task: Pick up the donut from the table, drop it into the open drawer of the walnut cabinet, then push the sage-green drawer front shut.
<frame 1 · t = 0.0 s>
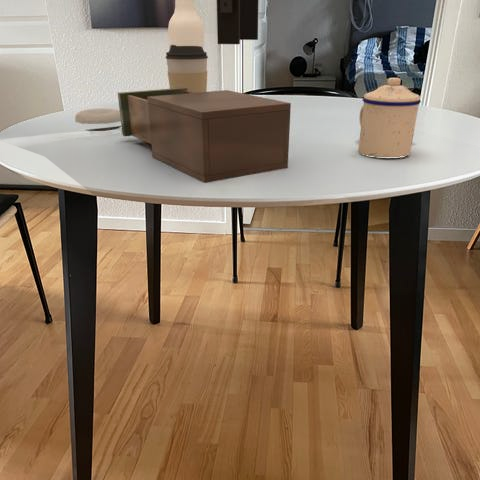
hand: (239, 42, 68), 17 cm above the table, tool pointing down, fingers open, 13 cm apart
alcohol: (189, 105, 133), on the table
coffee cup: (190, 121, 113), on the table
teacup with lid: (378, 153, 86), on the table
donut: (101, 129, 105), on the table
drawer: (171, 117, 89), point 5 cm above the table, slide at 13.5 cm
cabinet: (217, 162, 80), on the table
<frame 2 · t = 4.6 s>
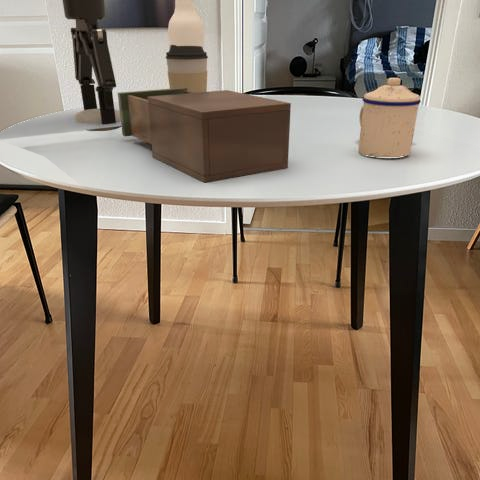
hand: (100, 121, 104), 1 cm above the table, tool pointing down, fingers closed on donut, 10 cm apart
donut: (101, 129, 105), on the table, touching gripper
everything else where it was.
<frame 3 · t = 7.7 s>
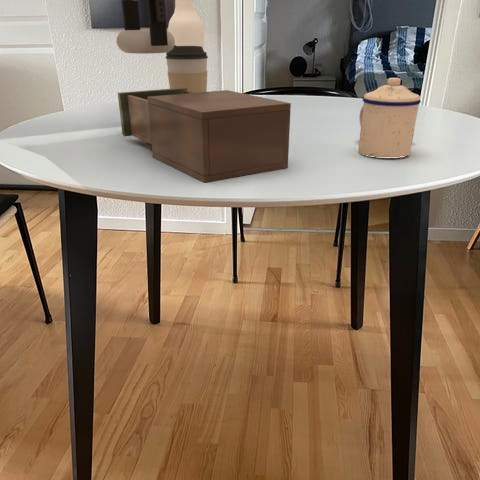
hand: (146, 44, 86), 16 cm above the table, tool pointing down, fingers closed on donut, 10 cm apart
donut: (147, 53, 87), point 14 cm above the table, touching gripper
everything else where it was.
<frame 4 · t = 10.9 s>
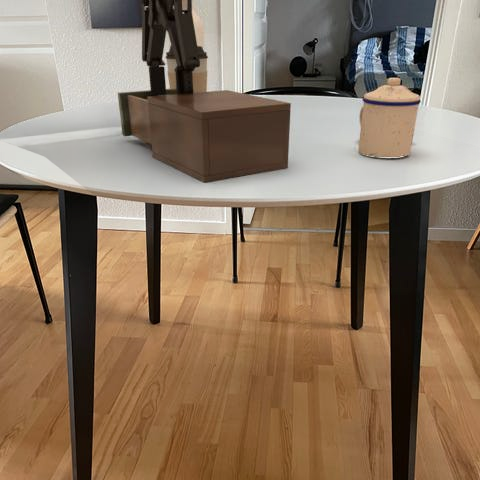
hand: (172, 110, 88), 6 cm above the table, tool pointing down, fingers closed on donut, 10 cm apart
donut: (173, 118, 89), point 4 cm above the table, touching gripper
everything else where it was.
when the fingers open (6 cm above the table, at t = 11.1 s): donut drops 3 cm, resting on drawer.
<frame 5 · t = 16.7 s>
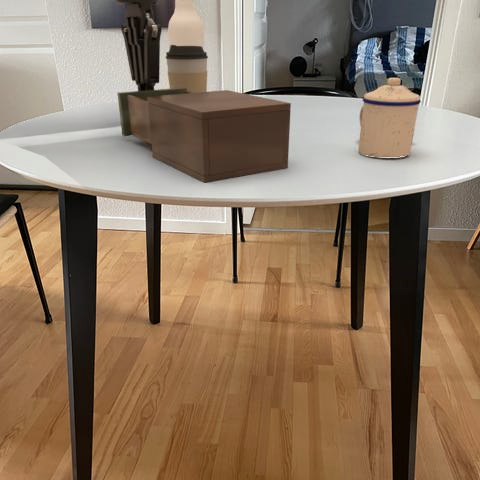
hand: (149, 122, 98), 2 cm above the table, tool pointing down, fingers closed
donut: (173, 133, 90), point 2 cm above the table, touching drawer
drawer: (171, 117, 89), point 5 cm above the table, slide at 13.6 cm, touching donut, gripper
everything else where it was.
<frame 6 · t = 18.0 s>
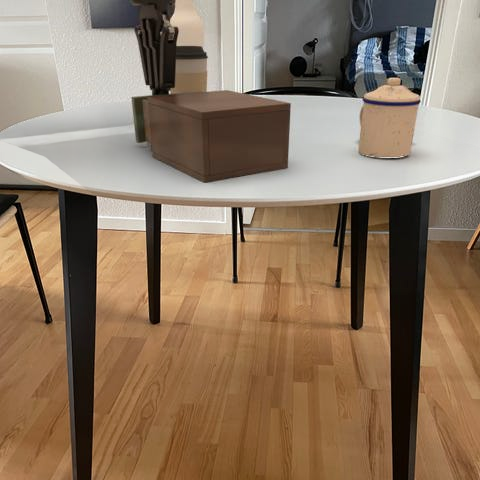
hand: (163, 128, 94), 2 cm above the table, tool pointing down, fingers closed
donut: (190, 139, 86), point 2 cm above the table, touching drawer
drawer: (188, 122, 84), point 5 cm above the table, slide at 7.0 cm, touching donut, gripper
everything else where it was.
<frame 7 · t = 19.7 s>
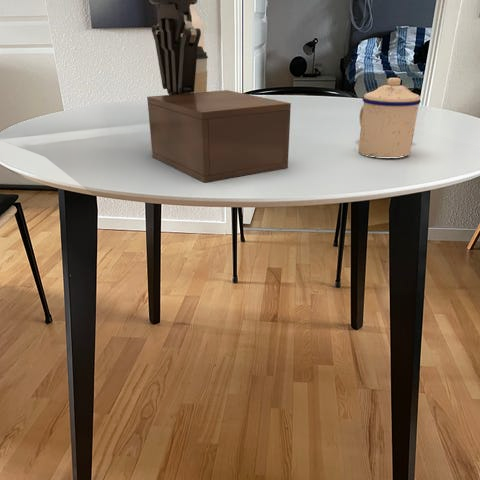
hand: (180, 135, 89), 2 cm above the table, tool pointing down, fingers closed
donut: (211, 147, 81), point 2 cm above the table, touching drawer
drawer: (209, 129, 79), point 5 cm above the table, slide at 0.0 cm, touching cabinet, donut, gripper
everything else where it was.
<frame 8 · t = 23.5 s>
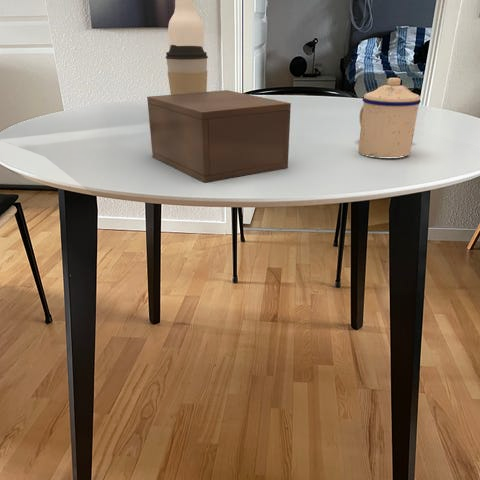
drawer: (209, 129, 79), point 5 cm above the table, slide at 0.0 cm, touching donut
everything else where it was.
at the end: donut inside the target area in the cabinet (2.0 cm from its centre), point 1.9 cm above the cabinet's base; drawer slide at 0.0 cm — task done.
